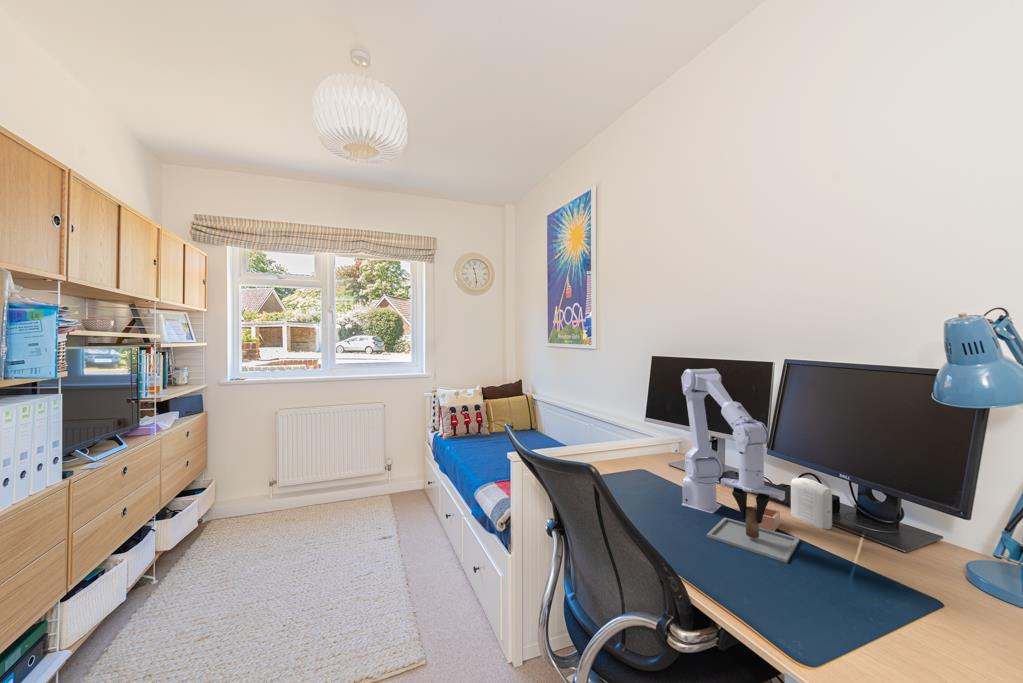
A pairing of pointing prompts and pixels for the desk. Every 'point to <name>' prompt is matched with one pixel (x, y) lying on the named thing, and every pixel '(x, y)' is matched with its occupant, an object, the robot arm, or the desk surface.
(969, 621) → the desk surface
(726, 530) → the tray
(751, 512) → the pin
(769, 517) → the tan open box
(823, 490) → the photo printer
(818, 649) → the desk surface
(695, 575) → the desk surface
